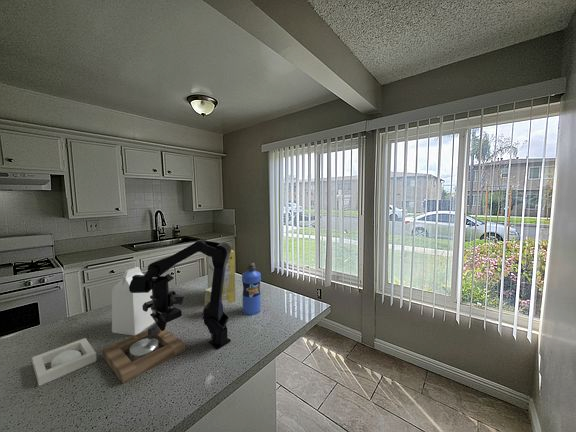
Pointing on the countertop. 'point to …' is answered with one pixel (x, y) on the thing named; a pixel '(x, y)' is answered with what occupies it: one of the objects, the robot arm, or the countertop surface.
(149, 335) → the dial
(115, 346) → the surround
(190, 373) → the countertop surface
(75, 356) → the garlic
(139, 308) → the milk
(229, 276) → the pasta box
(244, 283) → the water bottle
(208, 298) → the skincare box
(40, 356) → the frame
